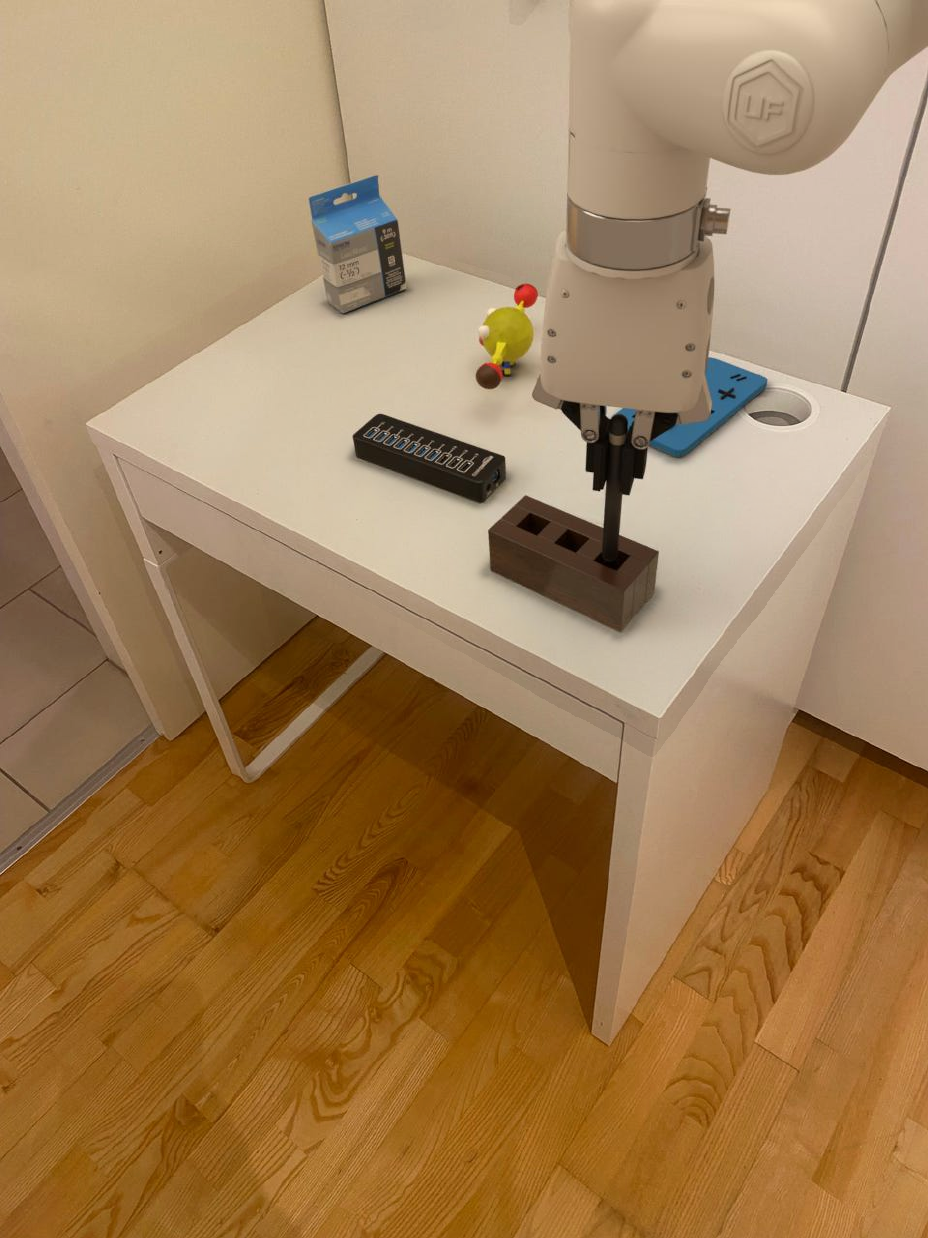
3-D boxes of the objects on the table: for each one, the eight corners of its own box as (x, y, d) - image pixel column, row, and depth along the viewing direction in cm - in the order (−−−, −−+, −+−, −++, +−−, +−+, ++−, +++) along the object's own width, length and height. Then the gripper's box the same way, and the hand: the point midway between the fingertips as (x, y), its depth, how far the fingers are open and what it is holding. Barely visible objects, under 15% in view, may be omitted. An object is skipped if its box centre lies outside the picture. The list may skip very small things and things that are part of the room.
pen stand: (526, 535, 81) (525, 494, 78) (654, 592, 76) (659, 551, 73) (490, 570, 79) (487, 529, 75) (620, 632, 73) (624, 591, 70)
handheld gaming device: (770, 375, 93) (681, 449, 86) (768, 385, 94) (680, 459, 87) (698, 348, 97) (607, 416, 90) (697, 357, 98) (607, 426, 91)
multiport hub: (381, 431, 93) (378, 411, 91) (508, 476, 87) (507, 456, 85) (353, 456, 91) (350, 435, 89) (481, 504, 85) (480, 483, 83)
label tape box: (342, 315, 109) (323, 208, 100) (325, 301, 111) (306, 195, 102) (407, 290, 112) (395, 184, 103) (390, 277, 114) (376, 172, 105)
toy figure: (502, 323, 106) (500, 264, 101) (551, 327, 104) (551, 268, 99) (458, 417, 94) (453, 356, 89) (513, 423, 93) (511, 361, 88)
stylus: (618, 554, 73) (630, 410, 63) (616, 566, 72) (627, 421, 63) (602, 552, 73) (611, 409, 64) (599, 563, 73) (608, 419, 63)
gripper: (780, 203, 54) (733, 463, 68) (516, 186, 58) (520, 435, 71) (770, 266, 49) (721, 532, 63) (482, 243, 53) (494, 499, 67)
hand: (614, 479), depth 67 cm, fingers closed on stylus, 1 cm apart
